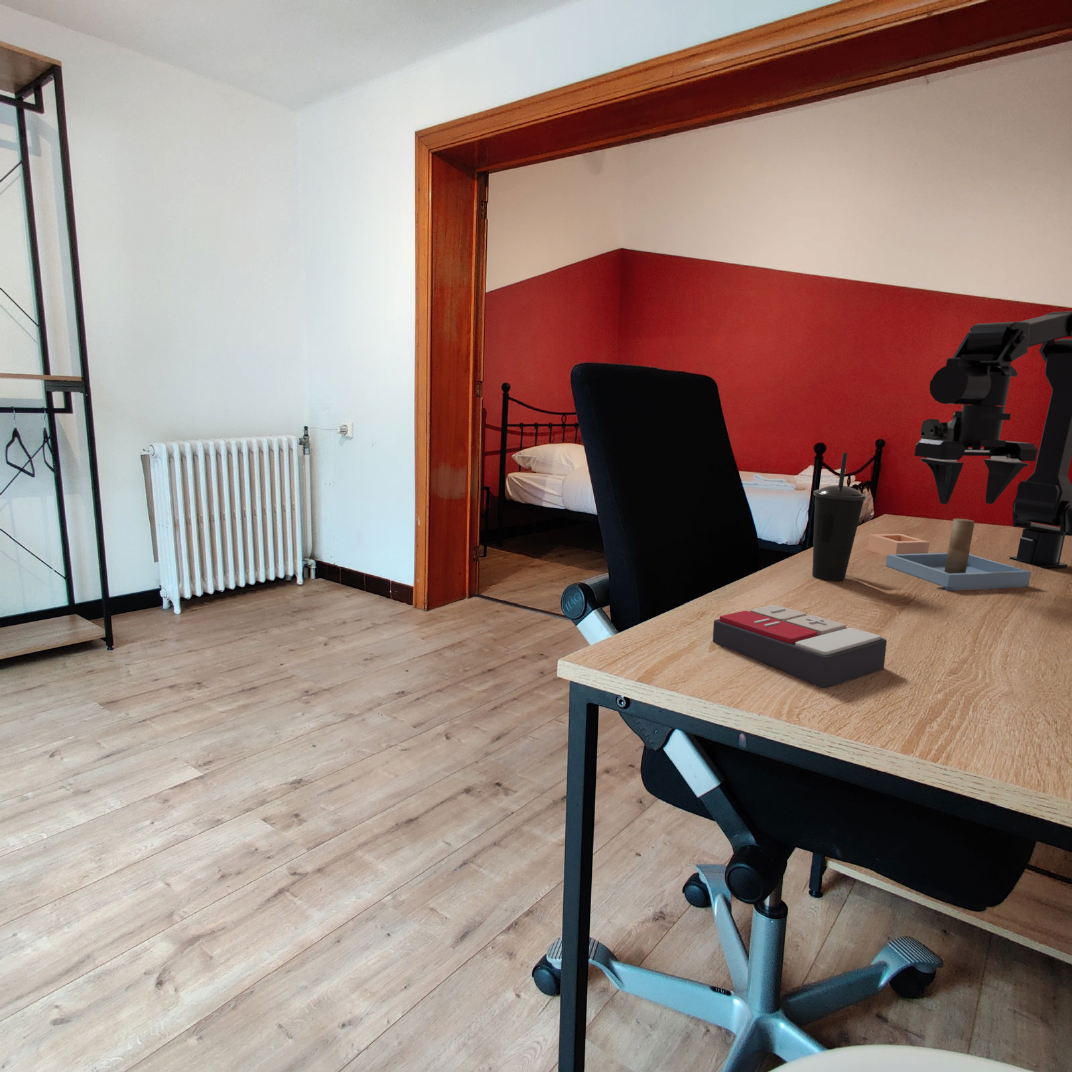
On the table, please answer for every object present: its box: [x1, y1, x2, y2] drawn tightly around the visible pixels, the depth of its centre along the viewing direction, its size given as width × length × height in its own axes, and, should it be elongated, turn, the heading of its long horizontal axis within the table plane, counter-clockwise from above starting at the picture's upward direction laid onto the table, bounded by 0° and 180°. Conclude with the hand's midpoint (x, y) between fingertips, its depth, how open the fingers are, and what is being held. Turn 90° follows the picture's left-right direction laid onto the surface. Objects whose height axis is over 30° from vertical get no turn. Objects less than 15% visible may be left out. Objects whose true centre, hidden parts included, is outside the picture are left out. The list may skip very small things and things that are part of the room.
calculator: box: [712, 604, 888, 689], centre depth 79 cm, size 11×4×15 cm
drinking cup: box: [811, 452, 867, 582], centre depth 111 cm, size 8×8×20 cm
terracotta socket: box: [866, 533, 930, 558], centre depth 129 cm, size 7×7×4 cm
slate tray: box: [885, 552, 1032, 592], centre depth 116 cm, size 16×13×2 cm
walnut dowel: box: [944, 518, 975, 574], centre depth 115 cm, size 3×3×9 cm
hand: (966, 503), depth 113 cm, fingers open, 9 cm apart
